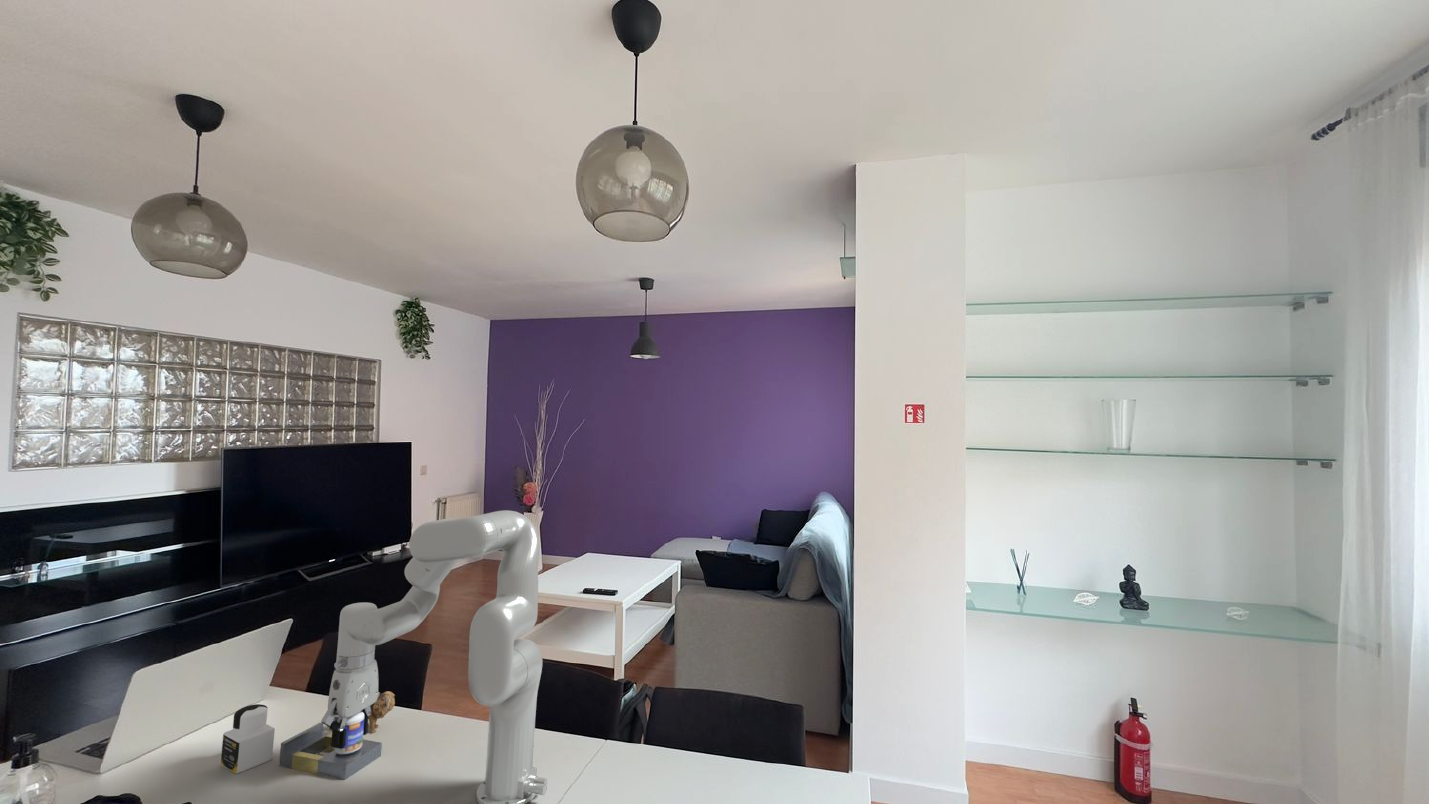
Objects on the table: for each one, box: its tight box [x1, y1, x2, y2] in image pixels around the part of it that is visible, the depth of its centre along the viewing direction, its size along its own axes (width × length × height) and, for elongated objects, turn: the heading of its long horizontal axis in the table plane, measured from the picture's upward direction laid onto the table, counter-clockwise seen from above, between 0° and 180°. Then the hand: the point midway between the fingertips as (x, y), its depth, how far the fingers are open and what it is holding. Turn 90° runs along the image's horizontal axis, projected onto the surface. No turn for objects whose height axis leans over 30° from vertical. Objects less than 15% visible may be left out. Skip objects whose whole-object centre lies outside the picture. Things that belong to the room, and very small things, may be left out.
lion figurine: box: [329, 691, 396, 734], centre depth 149 cm, size 15×5×9 cm, turn 104°
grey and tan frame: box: [278, 722, 383, 781], centre depth 134 cm, size 18×10×5 cm, turn 77°
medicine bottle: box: [220, 704, 275, 775], centre depth 133 cm, size 7×7×12 cm
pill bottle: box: [335, 711, 364, 754], centre depth 134 cm, size 5×5×10 cm
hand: (349, 739), depth 134 cm, fingers closed on pill bottle, 5 cm apart
